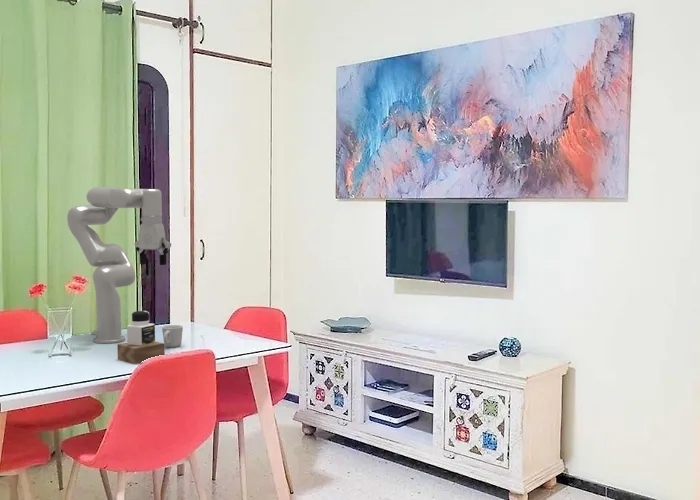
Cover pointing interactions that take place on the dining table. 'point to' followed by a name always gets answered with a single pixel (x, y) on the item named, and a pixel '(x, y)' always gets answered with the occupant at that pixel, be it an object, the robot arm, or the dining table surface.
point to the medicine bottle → (140, 330)
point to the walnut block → (139, 352)
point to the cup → (172, 335)
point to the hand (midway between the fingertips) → (153, 264)
